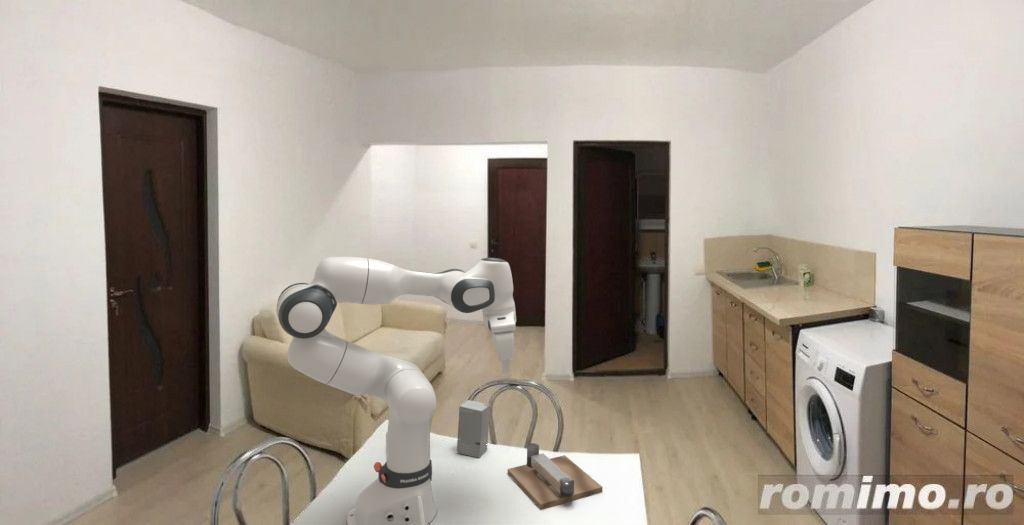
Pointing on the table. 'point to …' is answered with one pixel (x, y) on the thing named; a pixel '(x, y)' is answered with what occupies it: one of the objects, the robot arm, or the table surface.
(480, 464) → the table surface
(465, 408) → the skincare box
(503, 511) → the table surface
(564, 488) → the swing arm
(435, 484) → the table surface
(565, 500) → the label board
